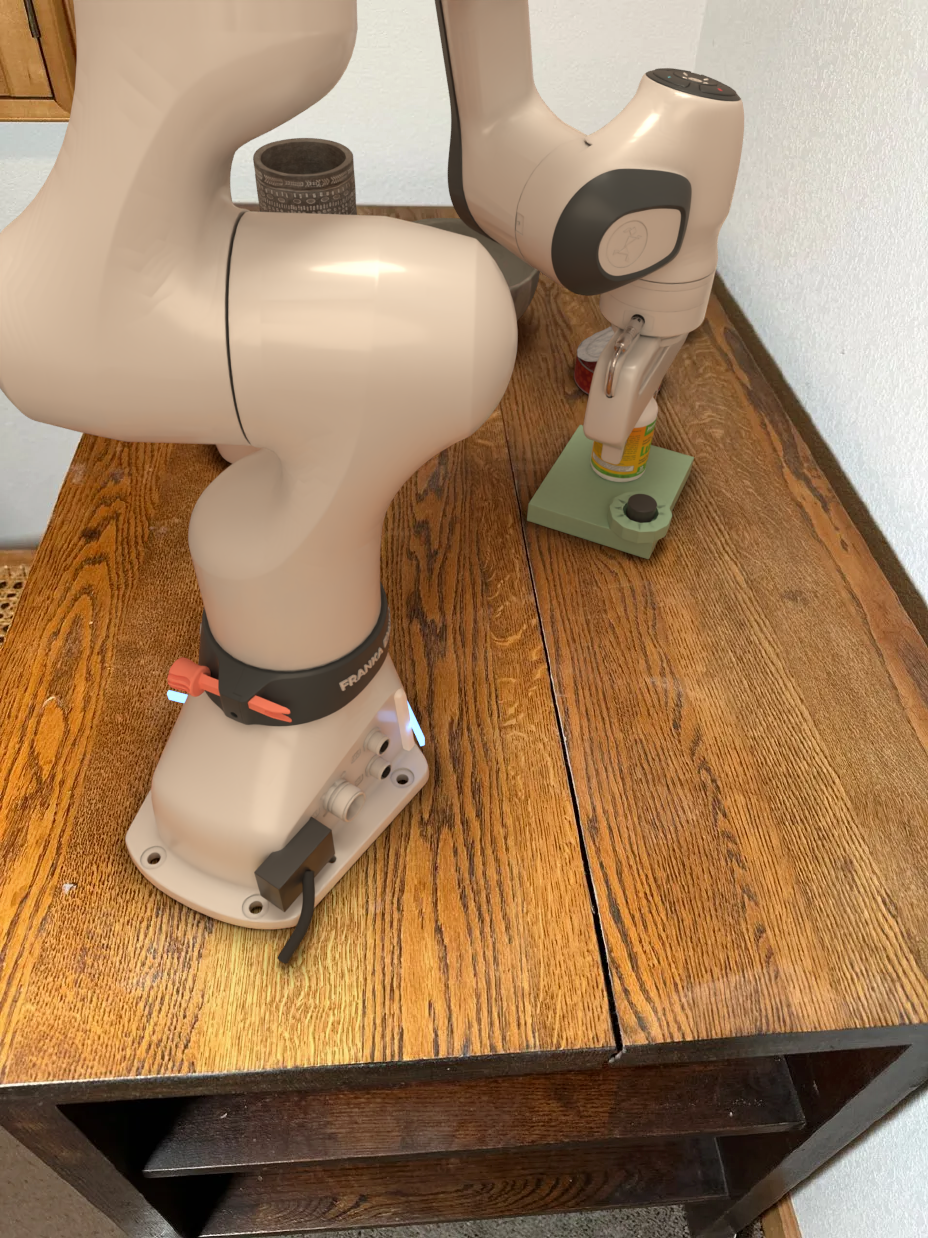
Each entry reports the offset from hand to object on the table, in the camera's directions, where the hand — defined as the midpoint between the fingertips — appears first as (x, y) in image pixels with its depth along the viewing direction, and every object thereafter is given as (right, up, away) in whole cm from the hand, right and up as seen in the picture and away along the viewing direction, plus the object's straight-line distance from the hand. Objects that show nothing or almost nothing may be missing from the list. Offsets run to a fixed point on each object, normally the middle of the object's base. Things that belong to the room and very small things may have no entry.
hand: (628, 431), depth 87 cm
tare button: (+1, -8, -3) cm, 9 cm away
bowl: (-17, +16, +24) cm, 33 cm away
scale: (-1, -6, +4) cm, 7 cm away
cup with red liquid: (-37, 0, +7) cm, 37 cm away
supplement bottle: (0, -3, +4) cm, 5 cm away
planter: (-35, +30, +36) cm, 58 cm away
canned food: (+2, +9, +18) cm, 20 cm away
